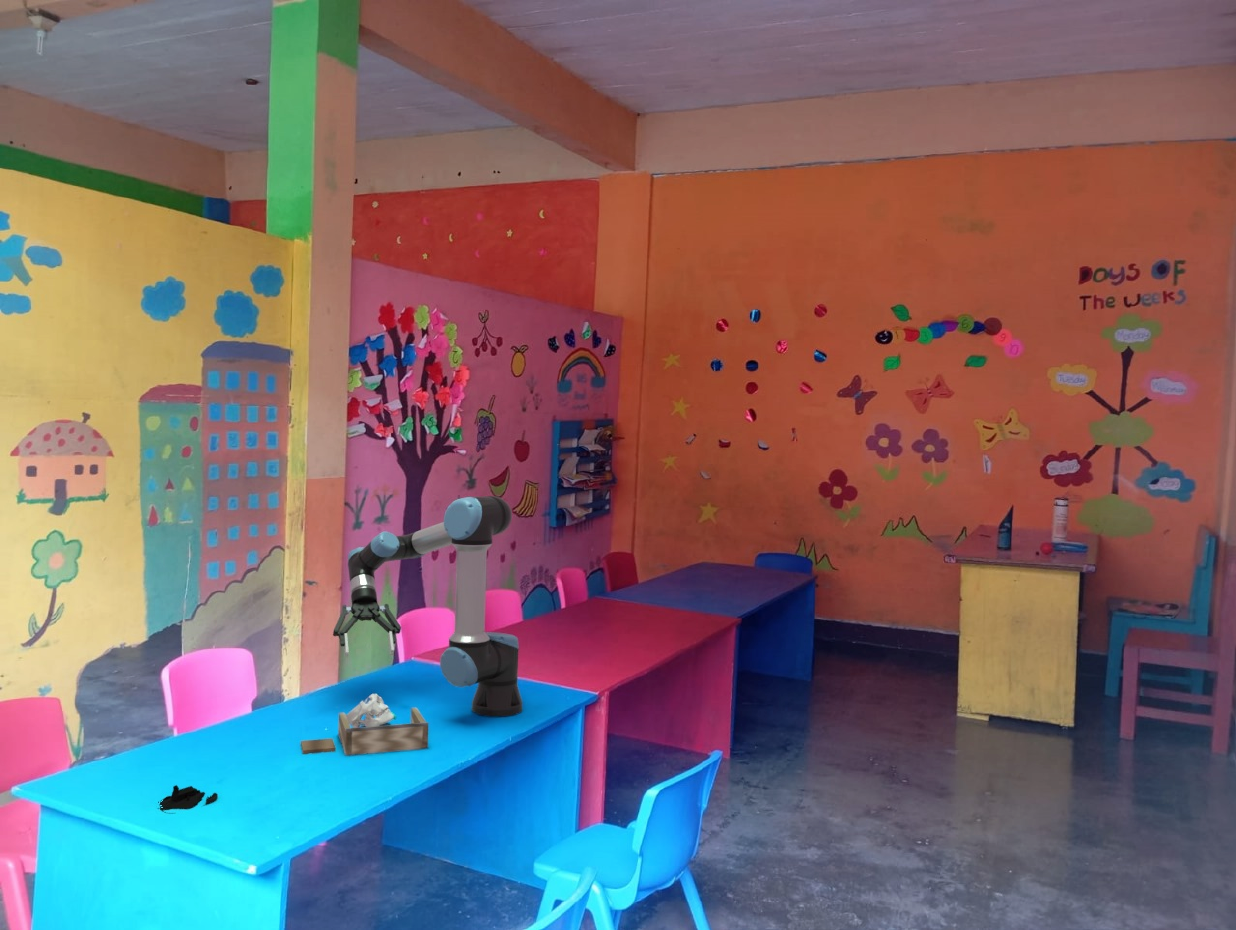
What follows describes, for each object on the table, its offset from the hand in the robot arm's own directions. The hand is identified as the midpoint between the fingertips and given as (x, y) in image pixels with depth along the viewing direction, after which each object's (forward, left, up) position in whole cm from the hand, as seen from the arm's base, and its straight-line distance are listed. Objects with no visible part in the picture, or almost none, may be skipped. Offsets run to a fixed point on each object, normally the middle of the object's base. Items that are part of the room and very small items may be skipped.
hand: (369, 653), depth 290 cm
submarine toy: (+36, +66, -18) cm, 77 cm away
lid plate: (+11, +31, -18) cm, 37 cm away
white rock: (-2, +13, -18) cm, 22 cm away
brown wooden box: (-5, +27, -17) cm, 32 cm away
